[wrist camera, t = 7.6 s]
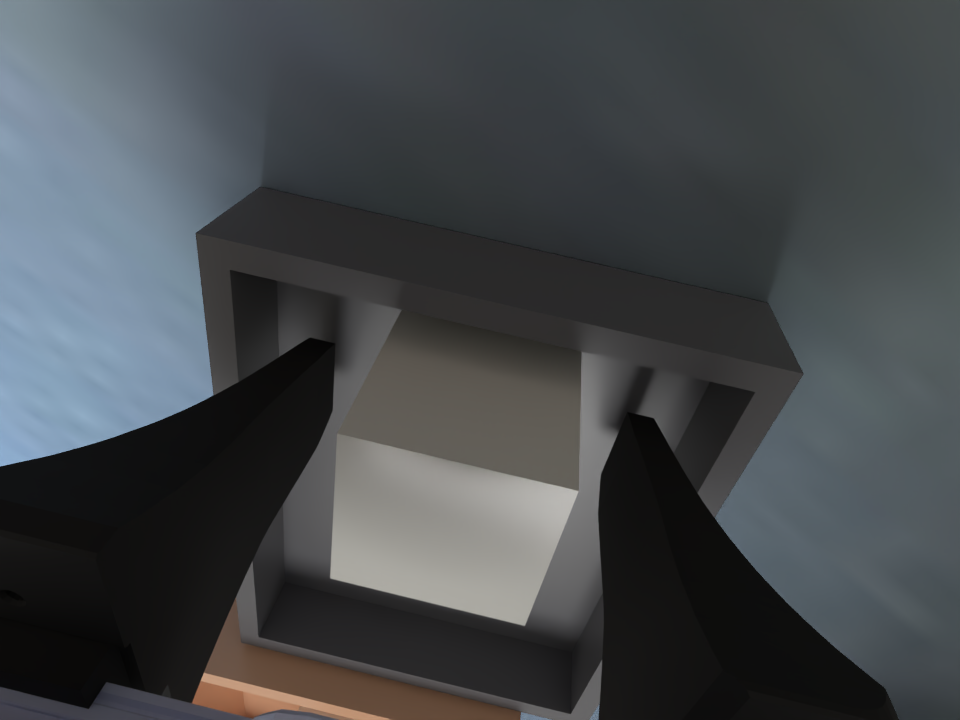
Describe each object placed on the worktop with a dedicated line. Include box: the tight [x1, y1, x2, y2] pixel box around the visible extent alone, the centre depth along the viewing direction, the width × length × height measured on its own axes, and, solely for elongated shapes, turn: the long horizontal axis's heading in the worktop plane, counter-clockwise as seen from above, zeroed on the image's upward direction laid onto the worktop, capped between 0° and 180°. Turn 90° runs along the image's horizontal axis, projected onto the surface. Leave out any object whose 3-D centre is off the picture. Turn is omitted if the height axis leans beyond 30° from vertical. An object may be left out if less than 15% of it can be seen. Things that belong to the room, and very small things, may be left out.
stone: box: [330, 310, 582, 626], centre depth 13 cm, size 4×4×4 cm
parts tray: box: [196, 187, 803, 720], centre depth 16 cm, size 11×14×3 cm
